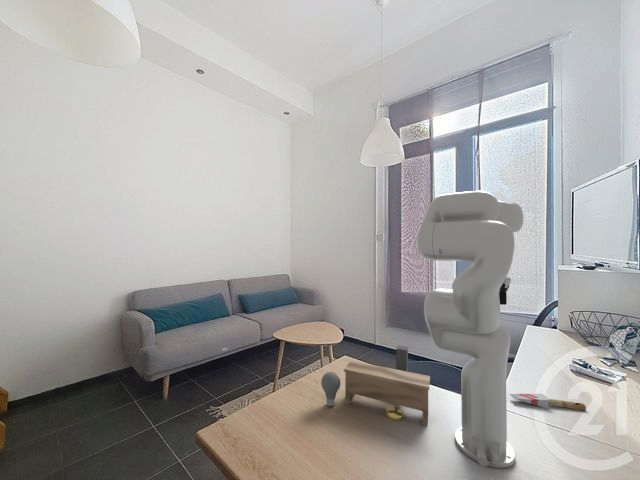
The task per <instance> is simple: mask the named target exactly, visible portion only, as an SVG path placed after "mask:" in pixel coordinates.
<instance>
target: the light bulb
mask: <svg viewBox="0 0 640 480" xmlns="http://www.w3.org/2000/svg"><path fill="white" fill-rule="evenodd" d="M320 383H321V388H322V389H323V392H324V393H325V398H326V406H328V407H334V406H335V404H336V400H335V399H336V397H337V393H338V391H339V389H340V387H341V378H340V377H339V375H338V374H337V373H336V372H333V371H328V372H325V374H323V376H322V377H321V382H320Z"/></svg>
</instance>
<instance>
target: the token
mask: <svg viewBox="0 0 640 480" xmlns="http://www.w3.org/2000/svg"><path fill="white" fill-rule="evenodd" d="M404 412H405V411H404V410H403V409H402V408H401V407H399V406H398V405H389V406H387V407H386V408H385V416H386V418H388V419H389V420H390V421H393V422H400V421H402V420H403V419H404V415H405V414H404Z"/></svg>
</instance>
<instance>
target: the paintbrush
mask: <svg viewBox="0 0 640 480" xmlns="http://www.w3.org/2000/svg"><path fill="white" fill-rule="evenodd" d="M509 396H511V398H512V399H514V400H517V401H519V402H524V403H527V404H531V405H534V406H538V407H541V408H544V409H548V410H549V409H550V406H553V407H560V408H567V409H575V410H581V411H586V410H587V406H586V405H585V404H584V402H583V403H582V402H581V403H580V402H574V401H568V400H562V399H561V400H560V399H554V398H548V397H546V395H544V394H543V393H509Z"/></svg>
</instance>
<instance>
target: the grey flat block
mask: <svg viewBox="0 0 640 480" xmlns="http://www.w3.org/2000/svg"><path fill="white" fill-rule="evenodd" d="M395 351H396V358H395V359H396V361H395V362H396V367H395V369H396V370H401V371H407V372H409V346H405V345H397V346H396V350H395Z"/></svg>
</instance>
